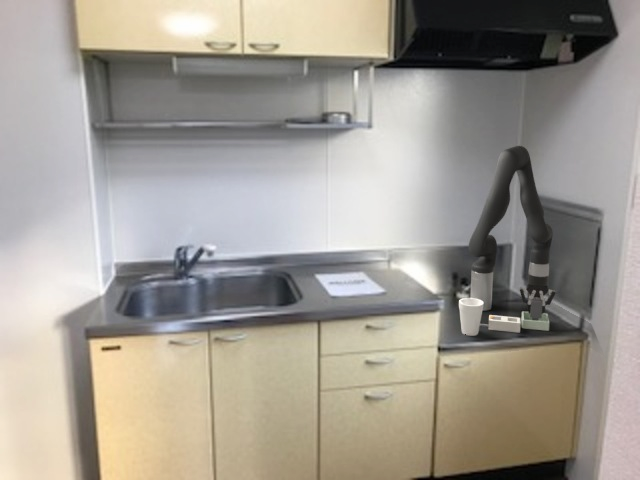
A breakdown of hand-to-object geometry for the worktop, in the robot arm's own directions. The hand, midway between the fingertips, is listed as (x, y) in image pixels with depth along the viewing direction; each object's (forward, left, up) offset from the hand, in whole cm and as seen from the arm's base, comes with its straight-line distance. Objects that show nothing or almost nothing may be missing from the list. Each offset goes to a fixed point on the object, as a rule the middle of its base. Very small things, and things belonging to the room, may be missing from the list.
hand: (535, 312), depth 219 cm
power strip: (+7, -15, -5) cm, 17 cm away
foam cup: (+15, -25, -5) cm, 30 cm away
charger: (0, 0, -3) cm, 3 cm away
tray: (0, 0, -5) cm, 5 cm away
